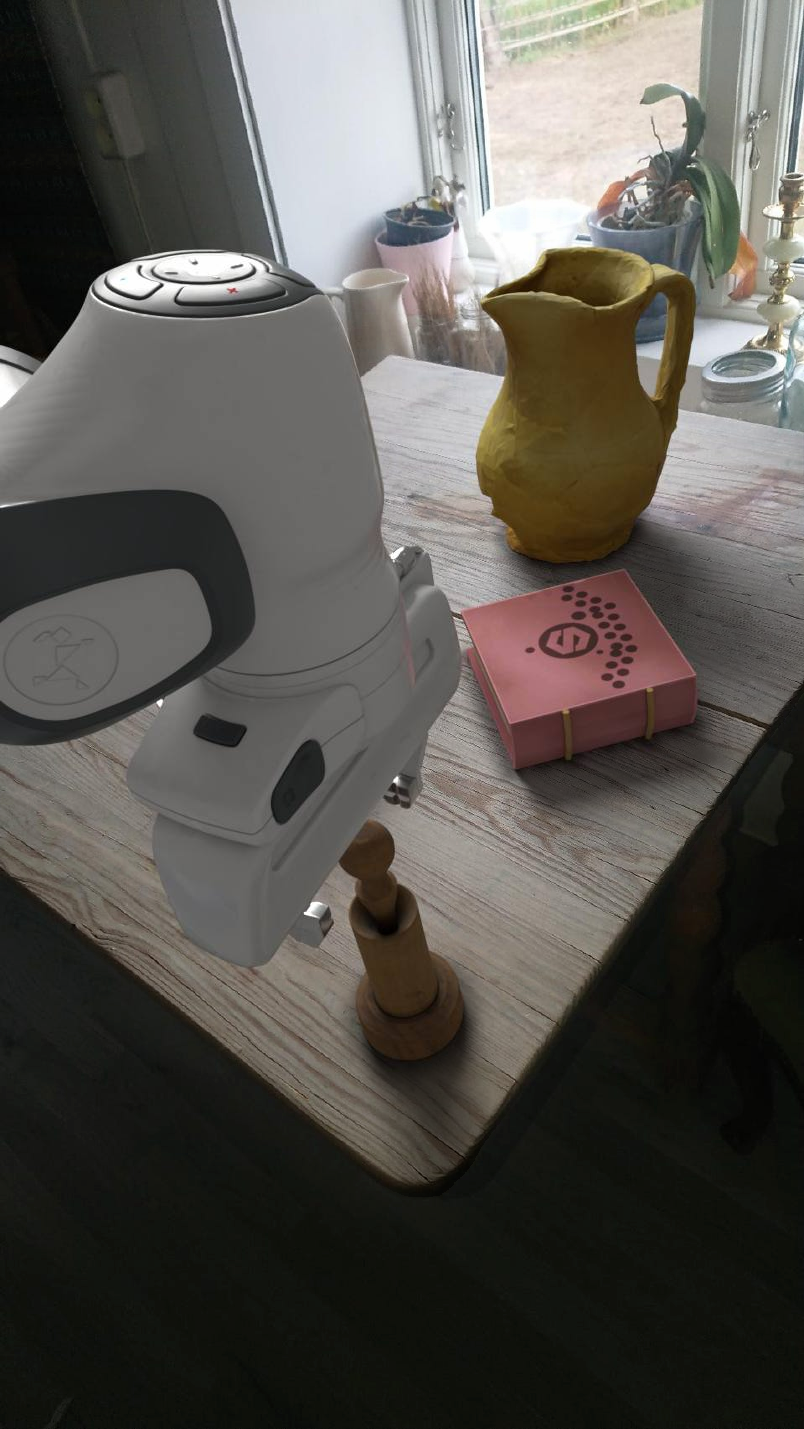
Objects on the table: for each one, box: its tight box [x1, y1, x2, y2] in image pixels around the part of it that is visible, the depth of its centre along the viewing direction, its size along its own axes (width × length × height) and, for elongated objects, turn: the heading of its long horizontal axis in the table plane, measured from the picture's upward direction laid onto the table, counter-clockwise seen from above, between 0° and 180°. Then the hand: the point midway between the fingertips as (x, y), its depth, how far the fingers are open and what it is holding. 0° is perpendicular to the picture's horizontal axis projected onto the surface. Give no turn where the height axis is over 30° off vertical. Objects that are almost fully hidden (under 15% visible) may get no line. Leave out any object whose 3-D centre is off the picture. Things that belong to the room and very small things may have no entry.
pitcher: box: [474, 246, 697, 564], centre depth 88 cm, size 17×19×25 cm
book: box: [460, 568, 699, 770], centre depth 78 cm, size 14×15×5 cm
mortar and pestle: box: [338, 818, 465, 1061], centre depth 55 cm, size 7×6×18 cm
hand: (361, 861), depth 50 cm, fingers open, 8 cm apart
